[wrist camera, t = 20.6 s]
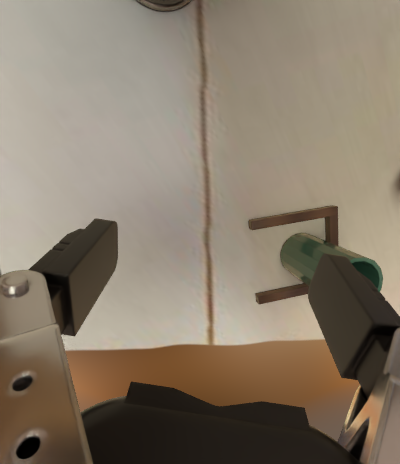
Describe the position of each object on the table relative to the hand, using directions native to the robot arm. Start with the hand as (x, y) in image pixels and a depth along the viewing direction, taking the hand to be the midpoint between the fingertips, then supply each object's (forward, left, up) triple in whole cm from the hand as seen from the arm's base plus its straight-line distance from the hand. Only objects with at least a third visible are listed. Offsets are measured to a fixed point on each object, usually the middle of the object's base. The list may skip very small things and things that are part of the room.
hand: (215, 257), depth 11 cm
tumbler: (+1, +19, -23) cm, 30 cm away
